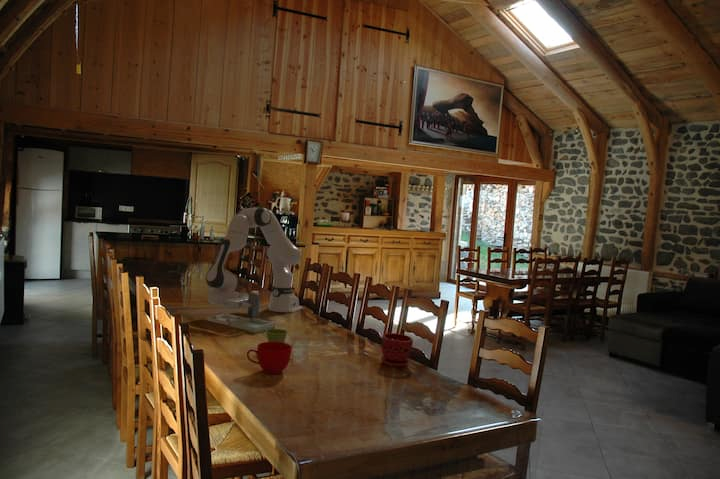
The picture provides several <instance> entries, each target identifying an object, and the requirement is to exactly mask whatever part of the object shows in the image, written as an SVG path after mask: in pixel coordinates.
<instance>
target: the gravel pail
mask: <svg viewBox="0 0 720 479" xmlns="http://www.w3.org/2000/svg"><path fill="white" fill-rule="evenodd" d="M248 294H249V299H248V303H251V304H252V306H251V307H247V313H246V314H247V317H246V318H256V319H259V312H260V305H259V302H261V301H260V298H261V297H260V296H261V293H259V291H257V290H256V291H255V290H251V291H250V292H249V293H248Z"/></svg>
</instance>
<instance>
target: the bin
mask: <svg viewBox="0 0 720 479" xmlns="http://www.w3.org/2000/svg"><path fill="white" fill-rule="evenodd" d="M245 318H246V319H242V320H238V321H233V322H230V325H229V327H232V328H236V329H240V330H243V331H244V332H246V333H250V334H253V333H254V335H255V334H260V333H262V332H266V331H267V330H269V329H276V322H274V321H269V320H265V319H260V318H248V317H245Z"/></svg>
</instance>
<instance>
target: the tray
mask: <svg viewBox="0 0 720 479" xmlns="http://www.w3.org/2000/svg"><path fill="white" fill-rule="evenodd" d="M246 318H247V317H243V316H240V315H239V316H238V315H234V314H229V313H223V314H222V313H221V314H218V315H213V316H209V317H207V318H206V320H207V322H212V323H215V324H216V323H217V324H220V325H225V326H230V322H233V321H238V320H242V319H246Z"/></svg>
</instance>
